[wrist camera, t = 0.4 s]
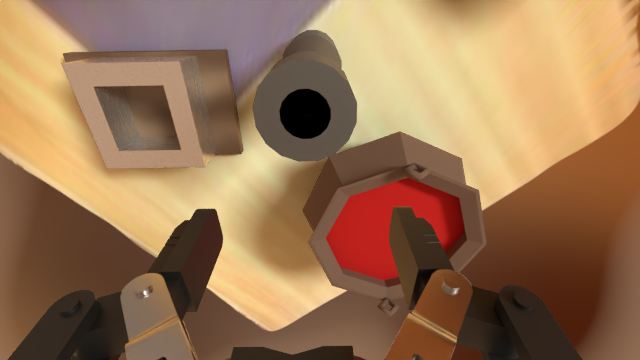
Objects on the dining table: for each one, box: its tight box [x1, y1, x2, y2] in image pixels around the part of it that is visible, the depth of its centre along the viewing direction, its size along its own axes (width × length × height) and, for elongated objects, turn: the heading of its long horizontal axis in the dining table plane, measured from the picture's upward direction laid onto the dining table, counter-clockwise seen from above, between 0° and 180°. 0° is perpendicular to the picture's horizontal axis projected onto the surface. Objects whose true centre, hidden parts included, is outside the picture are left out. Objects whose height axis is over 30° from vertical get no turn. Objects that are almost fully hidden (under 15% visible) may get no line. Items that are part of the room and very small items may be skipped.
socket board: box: [63, 50, 243, 155], centre depth 40 cm, size 14×20×2 cm
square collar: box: [61, 56, 217, 169], centre depth 37 cm, size 13×13×5 cm
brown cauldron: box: [303, 132, 486, 317], centre depth 40 cm, size 24×24×16 cm
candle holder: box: [253, 30, 357, 161], centre depth 26 cm, size 6×6×25 cm
